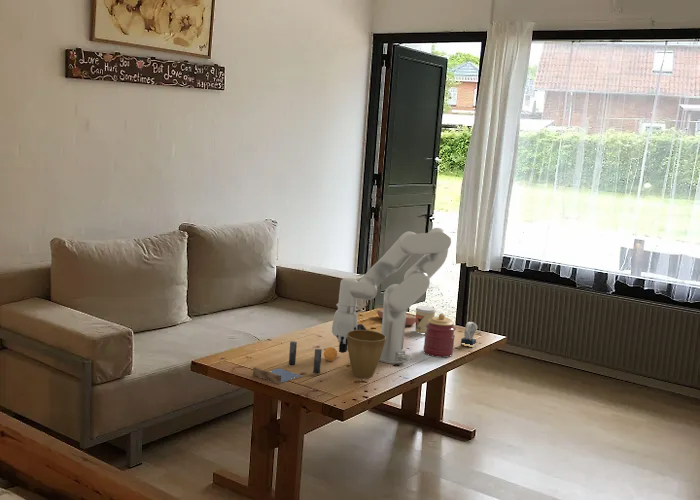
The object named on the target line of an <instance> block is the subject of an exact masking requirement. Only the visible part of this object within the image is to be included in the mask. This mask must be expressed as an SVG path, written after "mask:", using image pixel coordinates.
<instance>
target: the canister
mask: <svg viewBox="0 0 700 500" xmlns="http://www.w3.org/2000/svg"><path fill="white" fill-rule="evenodd" d="M428 322H429V323H428V324H426V328H427V329H426V332H425V335H424V344H423V352H425V353H424V354H426V355H428V354H429V355H428V356H431V355H433V356H432V357H436V356H441V357H440V358H444V357H443V356H449V357H451V356H450V355H452V356H453V353H454V349H455V348H454V344H455V343H454V342H455V335H456V334H455V331H456V327H455V326H454V325H455V322H454V321H453V320H452V319H451V318H449V317H445V314H444V313H440V314H438V316H434V317H432V318H431V319H429V320H428Z"/></svg>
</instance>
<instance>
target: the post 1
mask: <svg viewBox="0 0 700 500" xmlns="http://www.w3.org/2000/svg"><path fill="white" fill-rule="evenodd" d="M297 344H298V343H297V341H295V340H294V341H293V340H292V341H290V342H289V352H288V353H289V355H288V365H289V366H295V365H296V363H297V362H296V358H297Z"/></svg>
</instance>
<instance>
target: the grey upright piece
mask: <svg viewBox="0 0 700 500" xmlns="http://www.w3.org/2000/svg"><path fill="white" fill-rule="evenodd" d="M477 330H478V325H477V324H476V322H474V321H467V322H466V324H465V326H464V334H463V335H464V337H461V341H460V344H461V343H465V344H470V345H473V344H475V343H476V344H477V338H474V336H475V334H476V332H477Z"/></svg>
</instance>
